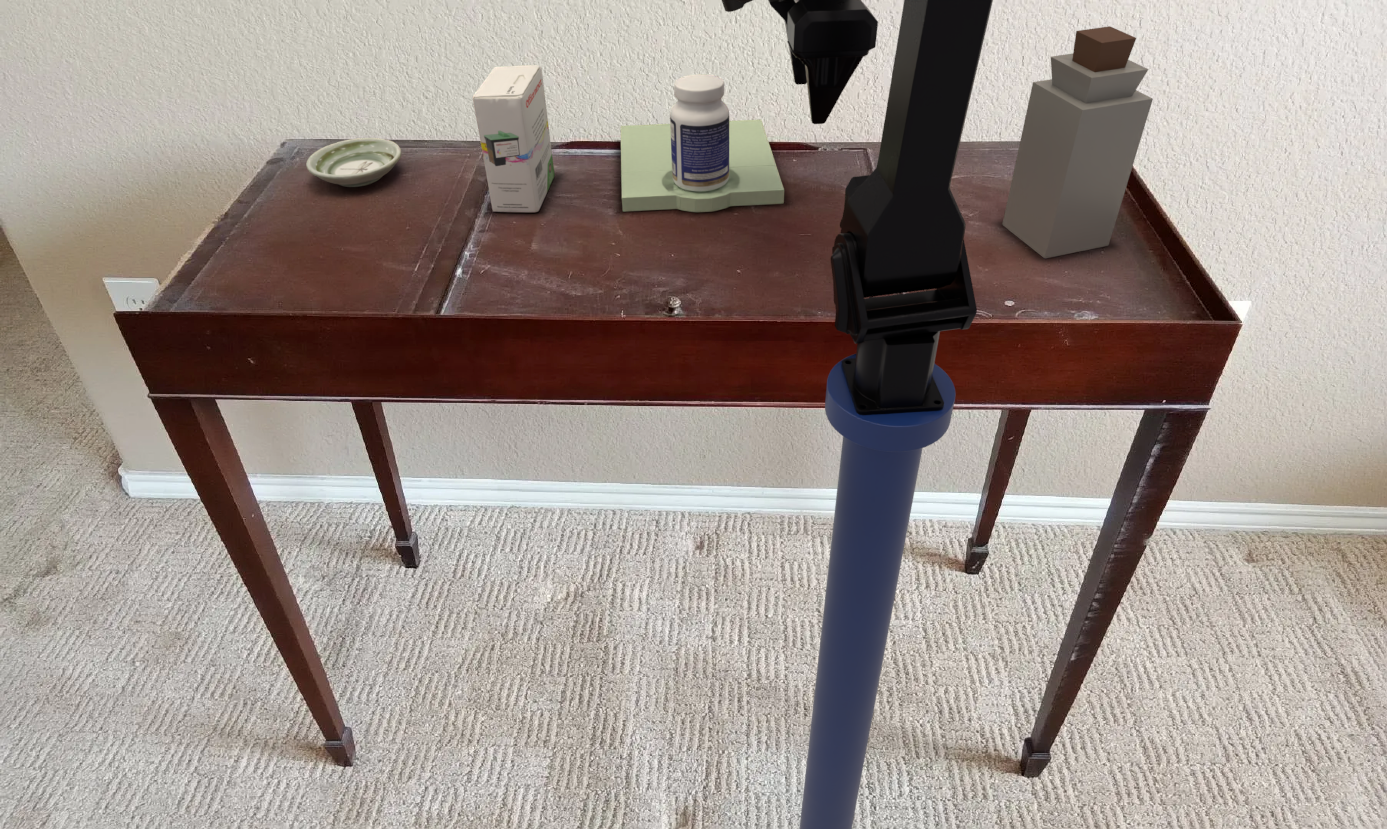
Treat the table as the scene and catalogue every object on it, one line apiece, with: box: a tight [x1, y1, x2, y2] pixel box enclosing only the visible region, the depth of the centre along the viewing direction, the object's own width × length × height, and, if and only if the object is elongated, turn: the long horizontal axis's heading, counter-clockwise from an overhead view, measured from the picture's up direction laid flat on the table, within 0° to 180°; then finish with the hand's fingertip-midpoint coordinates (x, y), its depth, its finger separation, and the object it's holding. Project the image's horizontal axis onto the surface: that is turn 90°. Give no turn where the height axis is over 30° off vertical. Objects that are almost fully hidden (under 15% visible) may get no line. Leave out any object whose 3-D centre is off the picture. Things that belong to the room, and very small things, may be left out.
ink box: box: [472, 64, 555, 213], centre depth 90 cm, size 8×5×12 cm, turn 175°
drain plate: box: [619, 119, 785, 213], centre depth 97 cm, size 19×16×2 cm
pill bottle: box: [669, 73, 730, 192], centre depth 89 cm, size 6×6×10 cm
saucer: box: [305, 137, 402, 188], centre depth 97 cm, size 10×10×2 cm
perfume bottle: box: [1001, 25, 1154, 259], centre depth 79 cm, size 7×7×18 cm
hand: (809, 102), depth 80 cm, fingers open, 9 cm apart
